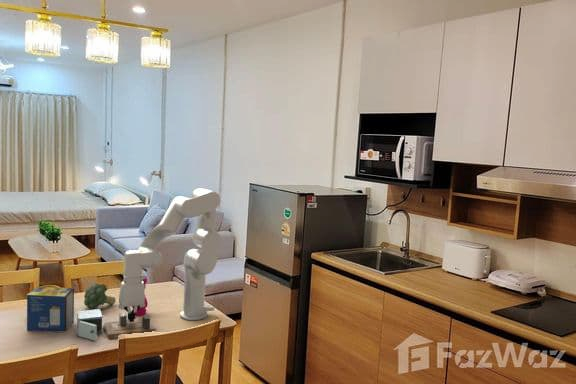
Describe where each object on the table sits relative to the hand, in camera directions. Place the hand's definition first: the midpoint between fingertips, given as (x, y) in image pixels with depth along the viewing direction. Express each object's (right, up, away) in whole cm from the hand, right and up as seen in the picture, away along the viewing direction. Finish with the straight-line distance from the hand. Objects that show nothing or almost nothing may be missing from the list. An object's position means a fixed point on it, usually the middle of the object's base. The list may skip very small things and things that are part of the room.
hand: (131, 320), depth 203 cm
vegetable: (-23, 0, +22) cm, 32 cm away
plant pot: (-44, +1, +16) cm, 47 cm away
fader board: (0, -4, -2) cm, 4 cm away
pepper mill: (-2, -2, +17) cm, 17 cm away
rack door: (-14, -4, -13) cm, 19 cm away
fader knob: (-3, -1, -1) cm, 4 cm away
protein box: (-33, -2, -3) cm, 33 cm away
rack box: (-16, -3, -4) cm, 17 cm away
